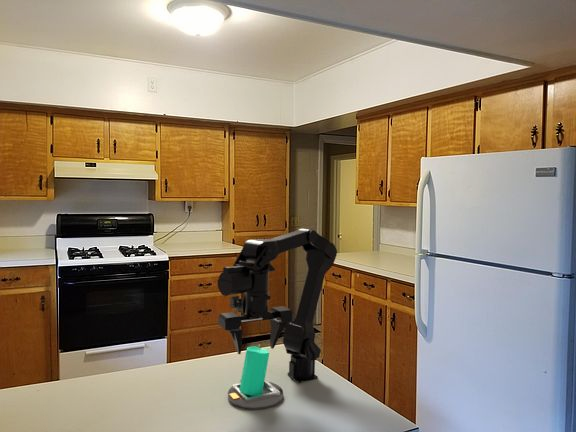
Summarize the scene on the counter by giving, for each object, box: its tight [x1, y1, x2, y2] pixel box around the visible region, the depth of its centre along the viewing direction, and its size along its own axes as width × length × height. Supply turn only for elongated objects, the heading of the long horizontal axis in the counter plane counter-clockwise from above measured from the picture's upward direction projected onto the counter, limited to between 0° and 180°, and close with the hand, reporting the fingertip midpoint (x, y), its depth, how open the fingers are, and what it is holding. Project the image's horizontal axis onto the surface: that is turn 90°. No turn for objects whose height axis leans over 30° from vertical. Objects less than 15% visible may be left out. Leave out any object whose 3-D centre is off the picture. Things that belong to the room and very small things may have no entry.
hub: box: [227, 378, 284, 411], centre depth 113 cm, size 14×14×2 cm
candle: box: [239, 343, 270, 396], centre depth 113 cm, size 6×6×12 cm
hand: (255, 350), depth 113 cm, fingers open, 9 cm apart
